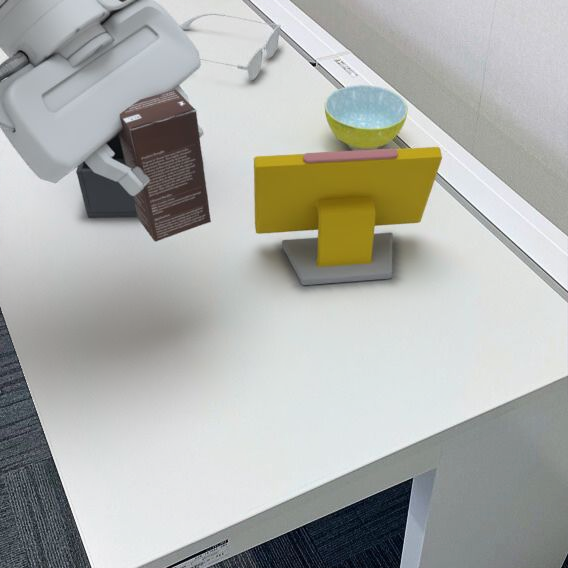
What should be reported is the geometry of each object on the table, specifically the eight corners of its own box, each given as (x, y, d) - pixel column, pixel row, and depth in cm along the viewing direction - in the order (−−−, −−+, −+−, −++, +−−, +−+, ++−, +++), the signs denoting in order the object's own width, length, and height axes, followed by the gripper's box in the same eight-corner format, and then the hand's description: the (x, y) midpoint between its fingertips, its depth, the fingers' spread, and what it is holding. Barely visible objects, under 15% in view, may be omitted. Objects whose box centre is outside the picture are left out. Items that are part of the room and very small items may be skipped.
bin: (87, 217, 96) (76, 171, 91) (100, 161, 104) (90, 116, 99) (187, 216, 97) (181, 170, 92) (192, 161, 105) (187, 116, 100)
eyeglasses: (248, 88, 119) (247, 64, 116) (141, 67, 122) (137, 42, 119) (282, 45, 129) (282, 21, 126) (182, 26, 132) (180, 2, 129)
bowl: (343, 174, 105) (345, 134, 100) (311, 131, 112) (312, 92, 107) (416, 158, 108) (422, 119, 104) (381, 117, 115) (385, 79, 111)
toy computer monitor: (414, 234, 97) (431, 122, 85) (429, 276, 92) (449, 163, 80) (255, 245, 94) (250, 131, 82) (261, 289, 89) (256, 174, 77)
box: (191, 198, 76) (176, 86, 67) (212, 224, 73) (199, 111, 64) (133, 217, 73) (110, 104, 64) (152, 244, 71) (131, 131, 62)
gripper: (-24, 66, 55) (114, 217, 60) (146, -36, 67) (248, 95, 72) (-51, 105, 59) (79, 243, 64) (113, 3, 72) (212, 124, 77)
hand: (170, 164), depth 68 cm, fingers closed on box, 7 cm apart
